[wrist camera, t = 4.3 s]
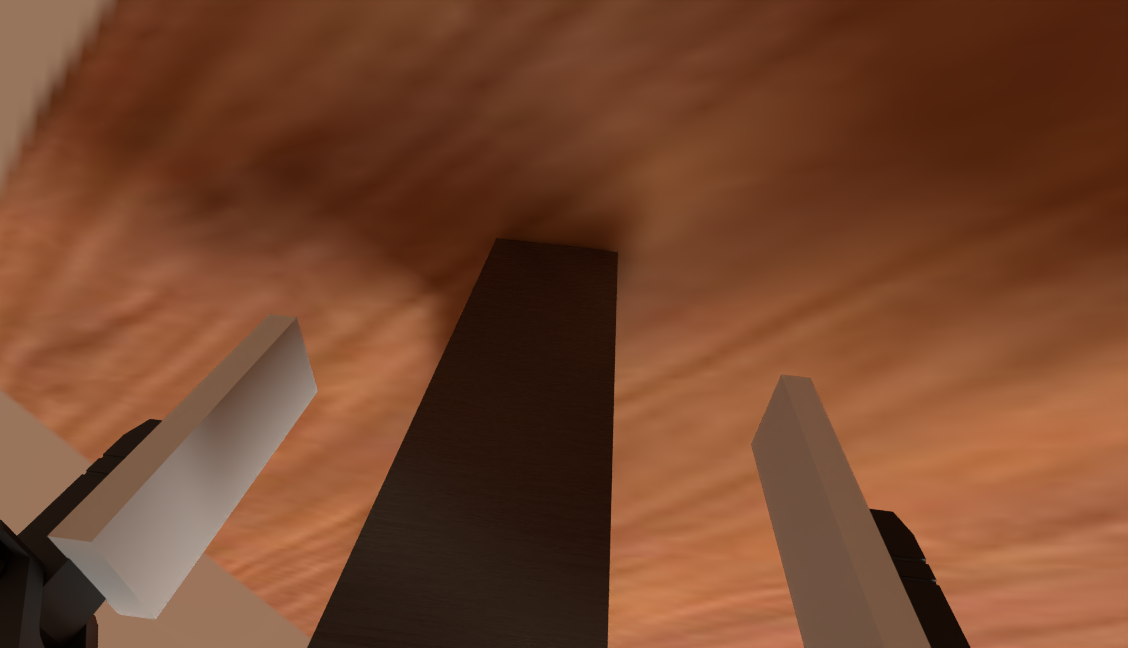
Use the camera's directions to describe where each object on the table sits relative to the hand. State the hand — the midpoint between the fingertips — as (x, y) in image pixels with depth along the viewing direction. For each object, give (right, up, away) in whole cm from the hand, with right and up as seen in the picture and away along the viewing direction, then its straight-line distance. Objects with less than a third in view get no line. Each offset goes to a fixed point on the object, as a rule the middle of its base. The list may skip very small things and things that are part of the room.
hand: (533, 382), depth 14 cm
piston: (0, -5, +9) cm, 11 cm away
